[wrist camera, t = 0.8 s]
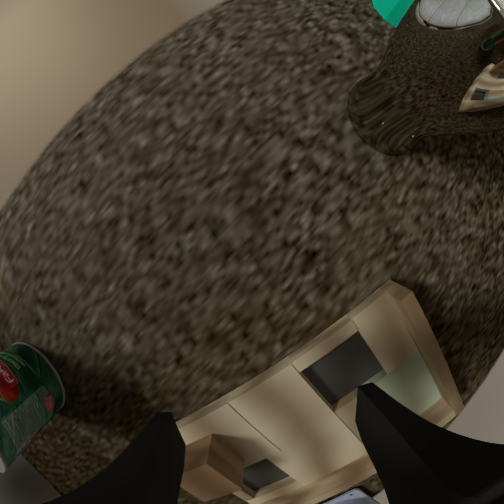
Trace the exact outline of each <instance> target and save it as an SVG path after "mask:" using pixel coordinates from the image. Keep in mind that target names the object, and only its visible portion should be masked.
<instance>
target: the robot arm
mask: <svg viewBox="0 0 504 504" xmlns="http://www.w3.org/2000/svg"><path fill="white" fill-rule="evenodd" d="M355 422H356V425H357V428H358V432H359V435H360V438H361V440H362V443H363V445H364V447H365V449H366V451H367V453H368V455H369V457H370V459H371V461H372V463H373V465H374V467H375V469H376V471H377V473H378V475H379V477H380V480H381V482H382V484H383V486H384V489H385V492H386V495H387V497H388V501H389V504H504V444H495V443H489V442H484V441H479V440H475V439H472V438H468V437H465V436H462V435H459V434H456V433H453V432H451V431H448V430H446V429H444V428H442V427H439V426H437V425H435V424H433V423H431V422H429V421H428V420H426V419H424V418H422V417H421V416H419V415H417V414H416V413H414V412H413V411H411V410H410V409H408V408H407V407H405V406H404V405H402V404H401V403H399V402H398V401H397V400H395V399H394V398H393V397H391V396H390V395H389V394H387V393H386V392H385V391H383V390H382V389H381V388H379V387H378V386H377V385H376V384H374V383H373V382H371V383H368V384H364V385H360V386H358V390H357V404H356V417H355ZM185 448H186V444H185V442H184V440H183V438H182V436H181V433H180V431H179V429H178V427H177V425H176V422H175V420H174V418H173V416H172V413H171V412H157V413H156V414H155V415H154V416H153V417H152V419H151V420H150V421H149V422H148V423H147V425H146V426H145V427H144V428H143V429H142V431H141V432H140V433H139V434H138V435H137V437H136V438H135V439H134V440H133V441H132V442H131V443H130V444H129V446H128V447H127V448H126V449H125V450H124V451H123V452H122V453H121V454H120V455H119V456H118V457H117V458H116V459H115V460H114V461H113V462H112V463H111V464H110V465H109V466H107V467H106V468H105V469H104V470H103V471H101V472H100V473H99V474H98V475H96V476H95V477H94V478H92V479H91V480H89V481H88V482H86V483H84V484H83V485H81V486H80V487H78V488H77V489H75V490H73V491H71V492H69V493H67V494H65V495H63V496H61V497H59V498H57V499H54V500H52V501H49V502H46V503H43V504H177V500H178V495H179V490H180V485H181V481H182V476H183V471H184V465H185ZM323 504H380V503H378V502H377V501H376V500H374V499H373V498H371V497H370V496H369V495H367V494H366V493H365V492H363V491H362V490H361V489H359V488H354V489H352V490H350V491H348V492H346V493H344V494H342V495H340V496H338V497H336V498H334V499H332V500H330V501H327V502H325V503H323Z"/></svg>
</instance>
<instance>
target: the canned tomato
mask: <svg viewBox="0 0 504 504" xmlns="http://www.w3.org/2000/svg"><path fill="white" fill-rule="evenodd" d="M65 397H66V396H65V389H64V386H63V383H62V381H61V378H60V376H59V374H58V373H57V371H56V369H55V368H54V366H53V365H52V363H51V362H50V361H49V360H48V359H47V357H46V356H45V355H44V354H43V353H42V352H41V351H39V350H38V349H37V348H35V347H34V346H32V345H30V344H28V343H25V342H17V343H14V344H13V345H12V346H10V347H9V348H7V349H5V350H3V351H2V352H1V353H0V473H5V472H6V471H7V468H8V467H9V466H10V464H11V463H12V462H13V461H15V459H16V458H17V456H19V455H20V454H21V452H22V451H23V450H24V449H25V447H26V446H27V445H28V444H29V443H30V442H31V441H32V440H33V439H34V437H35V436H36V435H37V434H38V433H39V432H40V431H41V430H42V428H43V427H44V426H45V425H46V424H47V423H48V422H49V421H50V419H51V418H52V417H53V416H54V415H55V414H56V412H57V411H58V410H60V409H61V408H62V407H63V405H64V403H65Z"/></svg>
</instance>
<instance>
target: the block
mask: <svg viewBox="0 0 504 504" xmlns="http://www.w3.org/2000/svg"><path fill="white" fill-rule="evenodd" d="M243 473H244V459H243V458H242V457H240V456H239V455H238V454H236V453H235V452H234V451H233V450H231V449H230V448H229V447H228V446H226V445H225V444H224V443H223V442H222V441H220V440H219V439H218V438H217V437H216V436H214V435H213V434H210V435H208V436H205V437H203V438H201V439H199V440H197V441H195V442H192V443H190V444H188V445H186V448H185V465H184V471H183V476H182V481H181V485H180V487H182V488H183V489H185V490H186V491H188V492H189V493H191V494H192V495H194V496H196V497H197V498H199V499H200V500H202V501H204V502H205V501H208V500H212V499H215V498H218V497H222V496H225V495H228V494H231V493H234V492H237V491H239V490H242V489H243Z"/></svg>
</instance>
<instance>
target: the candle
mask: <svg viewBox="0 0 504 504" xmlns="http://www.w3.org/2000/svg"><path fill="white" fill-rule="evenodd" d="M372 1H373V5H374V8H375V9H376V10H377V11H378V13H379V14H380V15H381V16H382V17H383V18H384V20H385V21H387V22H388V23H390V24H391V25H393V26H394V27H396V28H397V26H398V24H399V22H400V20H401V18H402V16H403V14H404V13H405V11H406V10H407V9H408V7H409V6H410V5H411V3H412V2H413V0H372Z"/></svg>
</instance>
